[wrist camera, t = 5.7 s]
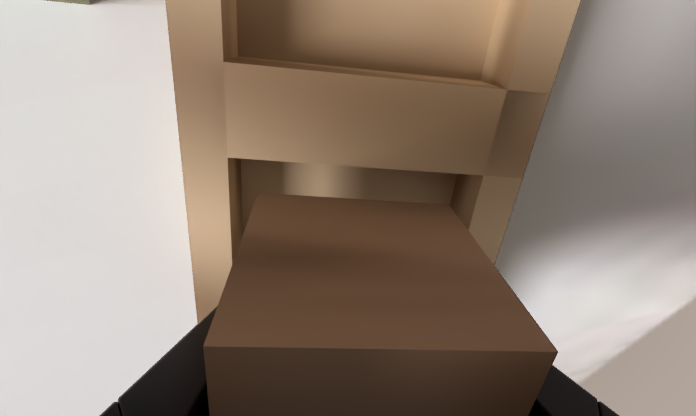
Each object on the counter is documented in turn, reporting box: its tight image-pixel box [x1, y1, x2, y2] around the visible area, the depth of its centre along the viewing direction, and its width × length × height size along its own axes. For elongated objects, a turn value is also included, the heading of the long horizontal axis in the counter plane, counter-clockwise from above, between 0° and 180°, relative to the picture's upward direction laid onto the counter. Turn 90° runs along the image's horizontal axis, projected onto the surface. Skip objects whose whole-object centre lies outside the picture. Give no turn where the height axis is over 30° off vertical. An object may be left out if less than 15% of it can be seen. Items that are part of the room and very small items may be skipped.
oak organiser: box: [165, 0, 581, 323], centre depth 9 cm, size 16×8×3 cm, turn 174°
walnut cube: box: [203, 193, 558, 416], centre depth 8 cm, size 4×4×4 cm
